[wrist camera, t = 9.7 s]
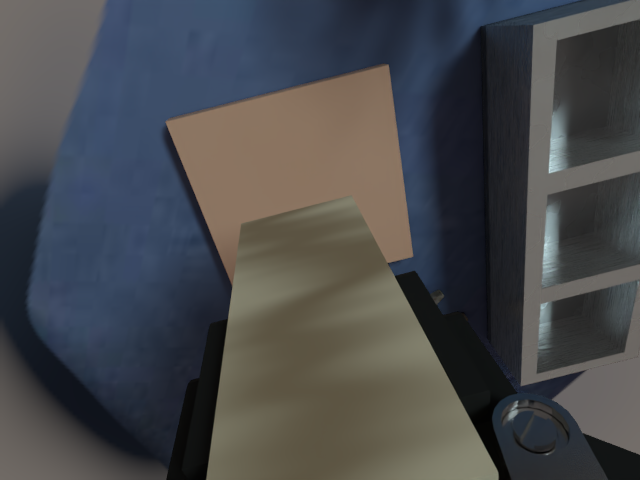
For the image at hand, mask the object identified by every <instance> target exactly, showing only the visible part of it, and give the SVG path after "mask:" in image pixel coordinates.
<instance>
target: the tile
mask: <svg viewBox="0 0 640 480" xmlns="http://www.w3.org/2000/svg"><path fill="white" fill-rule="evenodd" d="M166 124H167V127H168V129H169V132H170V134H171V137H172V139H173V142H174V144H175V146H176V149H177V151H178V154H179V156H180V159H181V161H182V164H183V166H184V169H185V171H186V173H187V176H188V178H189V181H190V183H191V186H192V188H193V191H194V193H195V196H196V198H197V200H198V203H199V205H200V208H201V210H202V213H203V215H204V218H205V220H206V223H207V225H208V227H209V230H210V232H211V235H212V237H213V240H214V242H215V245H216V247H217V250H218V252H219V254H220V257H221V259H222V262H223V264H224V267H225V269H226V272H227V274H228V277H229V279H230V281H231V284H232V286H233V280H234V272H235V265H236V258H237V250H238V243H239V236H240V228H241V224H242V223H245V222H249V221H253V220H257V219H261V218H265V217H269V216H273V215H276V214H280V213H284V212H288V211H292V210H296V209H300V208H304V207H307V206H311V205H315V204H319V203H323V202H327V201H331V200H335V199H339V198H342V197H346V196H350V195H352V197H353V199H354V201H355V203H356V205H357V207H358V208H359V210H360V212H361V214H362V216H363V218H364V220H365V222H366V224H367V225H368V227H369V229H370V231H371V233H372V235H373V237H374V239H375V241H376V242H377V244H378V246H379V248H380V250H381V252H382V254H383V256H384V258H385V259H386V261H387V263H390V262H394V261H398V260H402V259H406V258H410V257H413V251H412V243H411V236H410V228H409V220H408V212H407V204H406V196H405V189H404V181H403V173H402V165H401V157H400V149H399V142H398V134H397V126H396V118H395V110H394V103H393V95H392V87H391V79H390V71H389V65H388V64H380V65H376V66H372V67H368V68H364V69H360V70H356V71H352V72H348V73H345V74H341V75H337V76H333V77H329V78H325V79H321V80H317V81H313V82H309V83H305V84H302V85H298V86H294V87H290V88H286V89H282V90H278V91H274V92H270V93H266V94H262V95H258V96H255V97H251V98H247V99H243V100H239V101H235V102H231V103H227V104H223V105H219V106H215V107H212V108H208V109H204V110H200V111H196V112H192V113H188V114H184V115H180V116H176V117H172V118H169V119H168V120H167V121H166Z"/></svg>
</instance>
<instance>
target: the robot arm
mask: <svg viewBox="0 0 640 480" xmlns="http://www.w3.org/2000/svg"><path fill="white" fill-rule="evenodd" d="M395 278H396V280H397V282H398V284H399V286H400V288H401V290H402V291H403V293H404V295H405V297H406V299H407V301H408V303H409V305H410V307H411V308H412V310H413V312H414V314H415V316H416V318H417V320H418V322H419V324H420V325H421V327H422V329H423V331H424V333H425V335H426V337H427V339H428V341H429V342H430V344H431V346H432V348H433V350H434V352H435V354H436V356H437V358H438V359H439V361H440V363H441V365H442V367H443V369H444V371H445V373H446V374H447V376H448V378H449V380H450V382H451V384H452V386H453V388H454V390H455V391H456V393H457V395H458V397H459V399H460V401H461V403H462V405H463V407H464V408H465V410H466V412H467V414H468V416H469V418H470V420H471V422H472V424H473V425H474V427H475V429H476V431H477V433H478V435H479V437H480V439H481V441H482V442H483V444H484V446H485V448H486V450H487V452H488V454H489V456H490V458H491V459H492V461H493V463H494V465H495V467H496V469H497V471H498V478H499V480H640V455H639V454H636V453H633V452H631V451H628V450H626V449H623V448H620V447H618V446H615V445H612V444H610V443H607V442H605V441H602V440H599V439H596V438H594V437H591V436H589V435H586V434H584V433H582V432H581V430H580V428H579V426H578V424H577V423H576V421H575V420H574V418H573V417H572V416H571V415H570V413H569V412H568V411H567V410H566V409H564V408H563V407H562V406H561V405H559V404H558V403H557V402H554V401H553V400H551V399H549V398H547V397H544V396H540V395H536V394H532V393H518V394H517V392H516V391H515V389H514V388H513V386H512V385H511V384H510V382H509V381H508V379H507V378H506V376H505V375H504V374H503V372H502V371H501V369H500V368H499V366H498V365H497V363H496V362H495V361H494V359H493V358H492V356H491V355H490V353H489V352H488V351H487V349H486V348H485V346H484V345H483V343H482V342H481V341H480V339H479V338H478V336H477V335H476V333H475V332H474V330H473V329H472V328H471V326H470V325H469V323H468V322H467V320H466V319H465V318H464V316H463V315H462V314H461V313H460V312H458V311H457V312H454V313H450V314H446V315H443V314H442V313H441V311H440V309H439V308H438V306H437V305H436V303H435V301H434V300H433V298H432V297H431V295H430V293H429V292H428V290H427V289H426V287H425V285H424V284H423V282H422V281H421V279H420V278H419V276H418V274H417V273H416V272H415V271H412V272H408V273H404V274H401V275H397V276H395ZM227 324H228V319H226V320H222V321H218V322H214V323H211V324H210V326H209V331H208V336H207V341H206V347H205V352H204V357H203V362H202V367H201V372H200V378H198V379H194V380H191V381H190V382H189V383H188V386H187V390H186V394H185V399H184V403H183V407H182V412H181V416H180V421H179V425H178V430H177V434H176V439H175V443H174V448H173V452H172V457H171V461H170V466H169V470H168V474H167V480H206V478H207V471H208V463H209V456H210V449H211V441H212V434H213V427H214V419H215V412H216V404H217V397H218V390H219V382H220V375H221V368H222V360H223V353H224V346H225V338H226V331H227Z"/></svg>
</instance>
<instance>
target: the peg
mask: <svg viewBox="0 0 640 480" xmlns="http://www.w3.org/2000/svg"><path fill="white" fill-rule="evenodd" d="M206 480H499V478H498V471H497V469H496V467H495V465H494V463H493V461H492V459H491V458H490V456H489V454H488V452H487V450H486V448H485V446H484V444H483V442H482V441H481V439H480V437H479V435H478V433H477V431H476V429H475V427H474V425H473V424H472V422H471V420H470V418H469V416H468V414H467V412H466V410H465V408H464V407H463V405H462V403H461V401H460V399H459V397H458V395H457V393H456V391H455V390H454V388H453V386H452V384H451V382H450V380H449V378H448V376H447V374H446V373H445V371H444V369H443V367H442V365H441V363H440V361H439V359H438V358H437V356H436V354H435V352H434V350H433V348H432V346H431V344H430V342H429V341H428V339H427V337H426V335H425V333H424V331H423V329H422V327H421V325H420V324H419V322H418V320H417V318H416V316H415V314H414V312H413V310H412V308H411V307H410V305H409V303H408V301H407V299H406V297H405V295H404V293H403V291H402V290H401V288H400V286H399V284H398V282H397V280H396V278H395V276H394V274H393V273H392V271H391V269H390V267H389V265H388V263H387V261H386V259H385V258H384V256H383V254H382V252H381V250H380V248H379V246H378V244H377V242H376V241H375V239H374V237H373V235H372V233H371V231H370V229H369V227H368V225H367V224H366V222H365V220H364V218H363V216H362V214H361V212H360V210H359V208H358V207H357V205H356V203H355V201H354V199H353V197H352V195H350V196H346V197H342V198H339V199H335V200H331V201H327V202H323V203H319V204H315V205H311V206H307V207H304V208H300V209H296V210H292V211H288V212H284V213H280V214H276V215H273V216H269V217H265V218H261V219H257V220H253V221H249V222H245V223H242V224H241V228H240V236H239V243H238V250H237V258H236V265H235V272H234V280H233V287H232V294H231V302H230V309H229V316H228V324H227V331H226V338H225V346H224V353H223V360H222V368H221V375H220V382H219V390H218V397H217V404H216V412H215V419H214V427H213V434H212V441H211V449H210V456H209V463H208V471H207V478H206Z"/></svg>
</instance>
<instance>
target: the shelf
mask: <svg viewBox="0 0 640 480" xmlns="http://www.w3.org/2000/svg"><path fill="white" fill-rule="evenodd" d="M481 58H482V103H483V148H484V193H485V238H486V283H487V327H488V340H489V342H490V343H491V345H492V346H493V347H494V349H495V350H496V352H497V353H498V355H499V356H500V357H501V359H502V360H503V362H504V363H505V364H506V366H507V367H508V369H509V370H510V372H511V373H512V374H513V376H514V377H515V379H516V380H517V381H518V383H519V384H520V386H524V385H528V384H532V383H536V382H540V381H544V380H548V379H552V378H556V377H560V376H564V375H568V374H572V373H576V372H580V371H584V370H588V369H592V368H595V367H599V366H604V365H608V364H612V363H616V362H620V361H624V360H628V359H632V358H635V357H638V353H639V349H640V0H582V1H578V2H574V3H570V4H566V5H562V6H558V7H554V8H550V9H546V10H542V11H539V12H535V13H531V14H527V15H523V16H519V17H515V18H511V19H507V20H503V21H499V22H496V23H492V24H488V25H484V26H481Z"/></svg>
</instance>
